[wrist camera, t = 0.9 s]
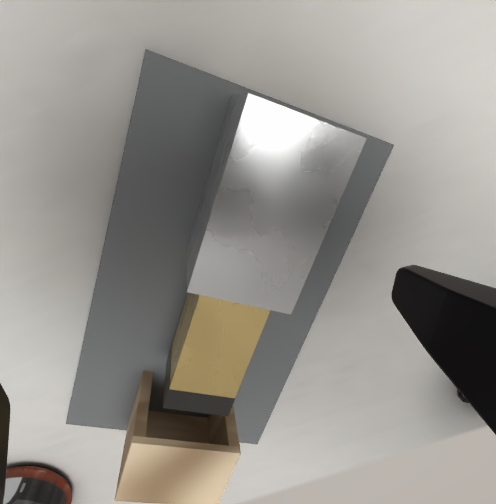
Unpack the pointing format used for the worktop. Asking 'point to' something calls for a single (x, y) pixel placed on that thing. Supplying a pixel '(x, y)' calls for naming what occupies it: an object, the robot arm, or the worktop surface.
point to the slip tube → (211, 354)
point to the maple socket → (175, 454)
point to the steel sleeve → (267, 203)
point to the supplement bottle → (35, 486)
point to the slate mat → (174, 254)
